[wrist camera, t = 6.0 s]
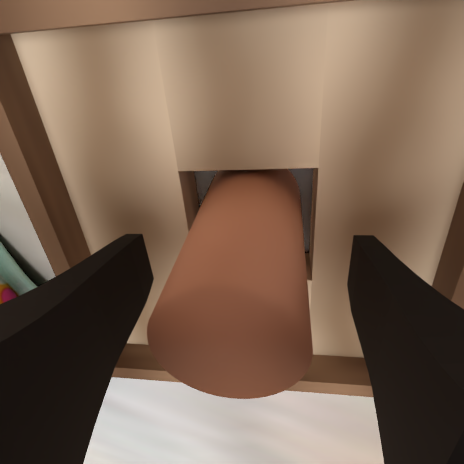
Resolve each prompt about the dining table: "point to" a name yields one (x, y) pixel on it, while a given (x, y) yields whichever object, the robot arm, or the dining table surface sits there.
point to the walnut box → (241, 136)
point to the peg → (238, 291)
